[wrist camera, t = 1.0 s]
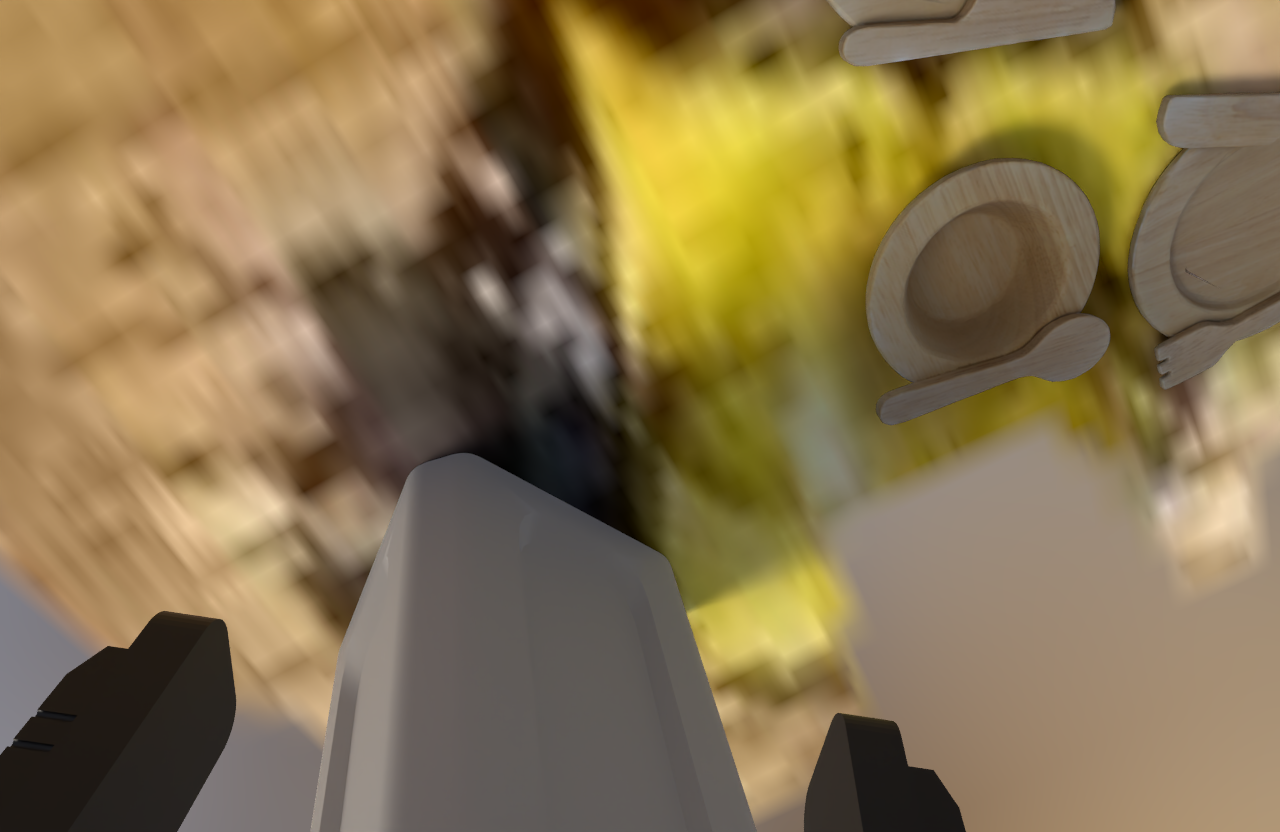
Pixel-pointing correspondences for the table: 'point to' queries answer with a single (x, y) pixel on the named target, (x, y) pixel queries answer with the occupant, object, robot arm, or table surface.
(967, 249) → the tableware set
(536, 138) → the table surface
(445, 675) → the grey tall block
